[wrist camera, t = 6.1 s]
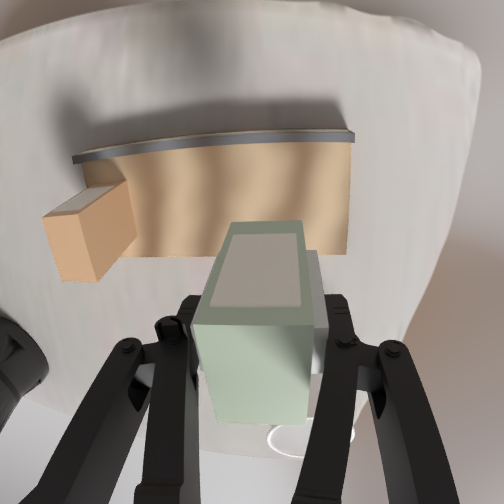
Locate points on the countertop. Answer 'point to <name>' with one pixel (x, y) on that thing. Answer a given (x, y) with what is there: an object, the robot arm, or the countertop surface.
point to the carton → (258, 325)
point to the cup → (297, 427)
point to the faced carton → (91, 231)
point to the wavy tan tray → (229, 186)
